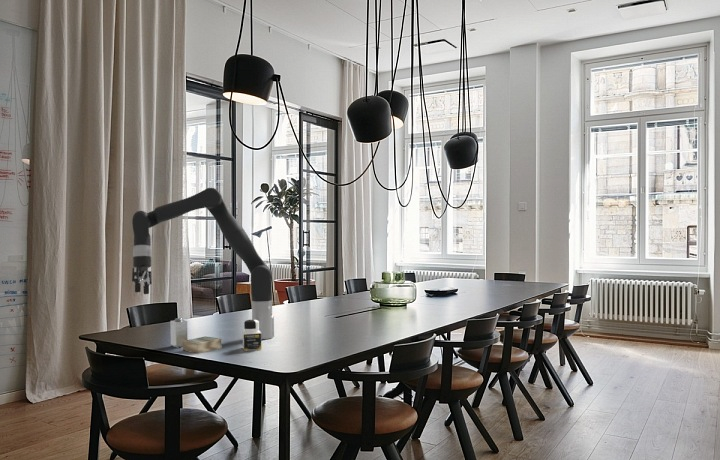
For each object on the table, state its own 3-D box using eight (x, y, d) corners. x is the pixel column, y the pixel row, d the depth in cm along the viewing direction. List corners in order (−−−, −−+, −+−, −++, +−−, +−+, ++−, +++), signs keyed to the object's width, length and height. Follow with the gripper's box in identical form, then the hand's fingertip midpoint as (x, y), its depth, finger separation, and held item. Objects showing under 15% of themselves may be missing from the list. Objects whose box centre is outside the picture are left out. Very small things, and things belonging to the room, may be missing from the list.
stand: (205, 345, 251) (205, 335, 251) (221, 348, 245) (221, 338, 245) (182, 350, 241) (182, 340, 241) (198, 353, 235) (198, 342, 235)
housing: (170, 346, 251) (170, 318, 251) (181, 344, 254) (181, 317, 254) (176, 348, 246) (176, 320, 246) (187, 346, 249) (187, 318, 249)
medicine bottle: (244, 351, 238) (243, 321, 238) (242, 347, 245) (242, 319, 245) (261, 349, 240) (261, 320, 240) (259, 346, 247) (259, 318, 247)
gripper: (143, 253, 249) (143, 291, 246) (157, 258, 263) (157, 294, 260) (126, 254, 249) (126, 292, 246) (141, 259, 263) (140, 295, 260)
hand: (142, 293), depth 253 cm, fingers open, 8 cm apart
